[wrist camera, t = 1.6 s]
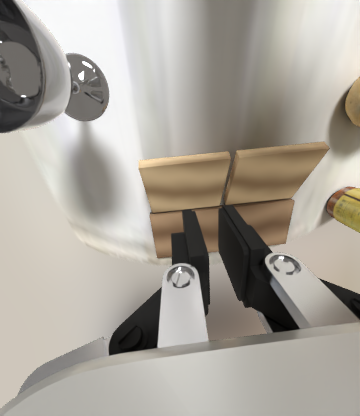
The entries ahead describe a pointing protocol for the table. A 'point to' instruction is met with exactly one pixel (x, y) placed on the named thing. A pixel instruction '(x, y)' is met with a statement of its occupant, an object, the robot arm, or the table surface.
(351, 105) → the onion
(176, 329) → the robot arm
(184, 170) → the oak plank
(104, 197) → the table surface
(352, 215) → the sauce bottle
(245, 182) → the oak plank
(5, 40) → the wine glass
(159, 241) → the walnut board
